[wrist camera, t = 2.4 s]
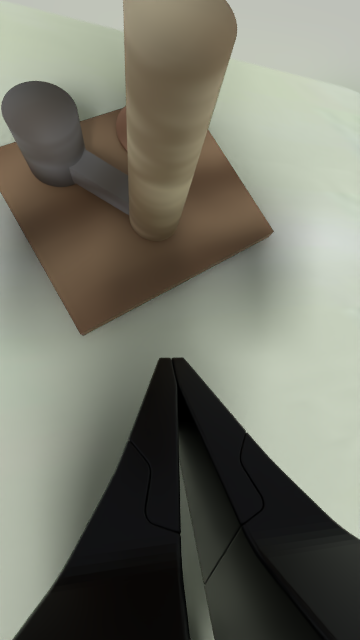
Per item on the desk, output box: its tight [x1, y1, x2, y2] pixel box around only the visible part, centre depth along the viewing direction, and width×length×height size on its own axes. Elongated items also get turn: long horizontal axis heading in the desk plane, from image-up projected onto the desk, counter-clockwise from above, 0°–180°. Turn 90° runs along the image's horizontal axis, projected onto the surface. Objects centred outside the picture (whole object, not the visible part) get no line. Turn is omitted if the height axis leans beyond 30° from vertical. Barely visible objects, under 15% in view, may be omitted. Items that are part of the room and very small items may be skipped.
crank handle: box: [1, 0, 237, 241], centre depth 12 cm, size 10×4×10 cm, turn 61°
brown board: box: [0, 106, 274, 336], centre depth 18 cm, size 13×15×1 cm
